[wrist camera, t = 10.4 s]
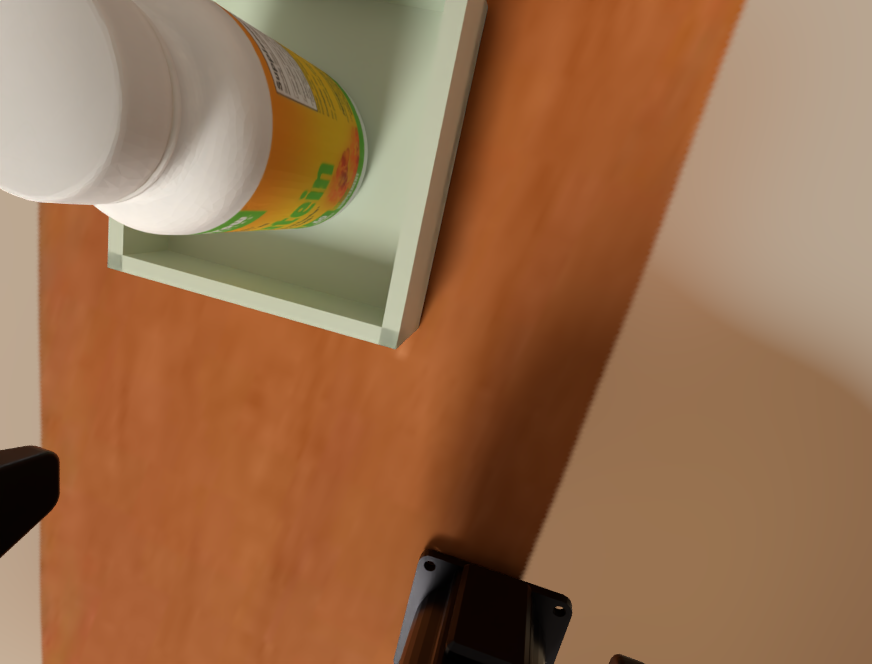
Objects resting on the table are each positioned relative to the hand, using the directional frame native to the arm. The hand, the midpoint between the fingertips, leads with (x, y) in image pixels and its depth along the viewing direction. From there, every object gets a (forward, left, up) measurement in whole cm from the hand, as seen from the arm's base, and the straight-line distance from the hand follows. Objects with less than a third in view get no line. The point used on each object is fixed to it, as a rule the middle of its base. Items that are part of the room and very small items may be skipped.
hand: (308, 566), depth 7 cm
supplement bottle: (+6, +7, -11) cm, 15 cm away
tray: (+6, +7, -12) cm, 15 cm away
